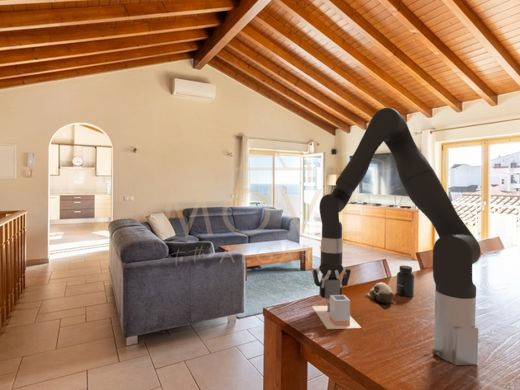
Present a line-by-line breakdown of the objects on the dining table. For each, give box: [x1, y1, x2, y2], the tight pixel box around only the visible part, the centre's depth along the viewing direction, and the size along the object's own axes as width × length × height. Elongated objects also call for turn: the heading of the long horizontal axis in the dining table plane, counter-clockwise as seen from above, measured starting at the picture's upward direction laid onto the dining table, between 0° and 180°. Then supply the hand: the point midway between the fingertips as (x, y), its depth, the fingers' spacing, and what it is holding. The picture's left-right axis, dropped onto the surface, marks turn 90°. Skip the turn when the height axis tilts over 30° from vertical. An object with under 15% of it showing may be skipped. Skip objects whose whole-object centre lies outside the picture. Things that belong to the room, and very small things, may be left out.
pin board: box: [311, 303, 362, 330], centre depth 103 cm, size 18×11×6 cm, turn 6°
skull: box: [364, 282, 397, 308], centre depth 121 cm, size 12×10×10 cm
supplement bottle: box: [395, 264, 415, 298], centre depth 129 cm, size 7×7×12 cm
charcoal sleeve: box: [320, 277, 340, 304], centre depth 107 cm, size 5×5×8 cm
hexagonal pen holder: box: [330, 294, 351, 326], centre depth 98 cm, size 5×5×8 cm
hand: (330, 297), depth 107 cm, fingers closed on charcoal sleeve, 5 cm apart
